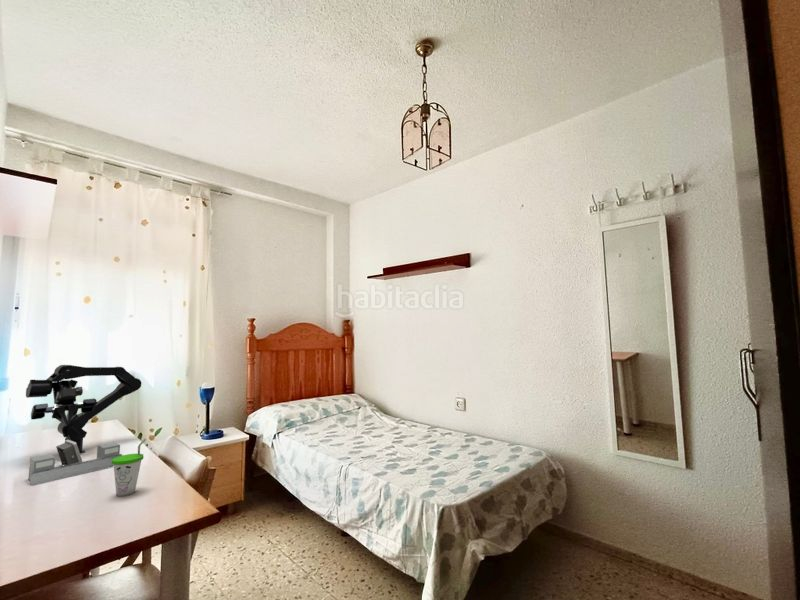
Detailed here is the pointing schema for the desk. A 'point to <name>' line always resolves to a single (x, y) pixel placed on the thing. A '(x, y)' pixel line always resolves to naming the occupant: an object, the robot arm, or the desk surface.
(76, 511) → the desk surface
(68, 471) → the rail
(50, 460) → the mounted modules
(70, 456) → the electrical switch
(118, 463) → the cup
